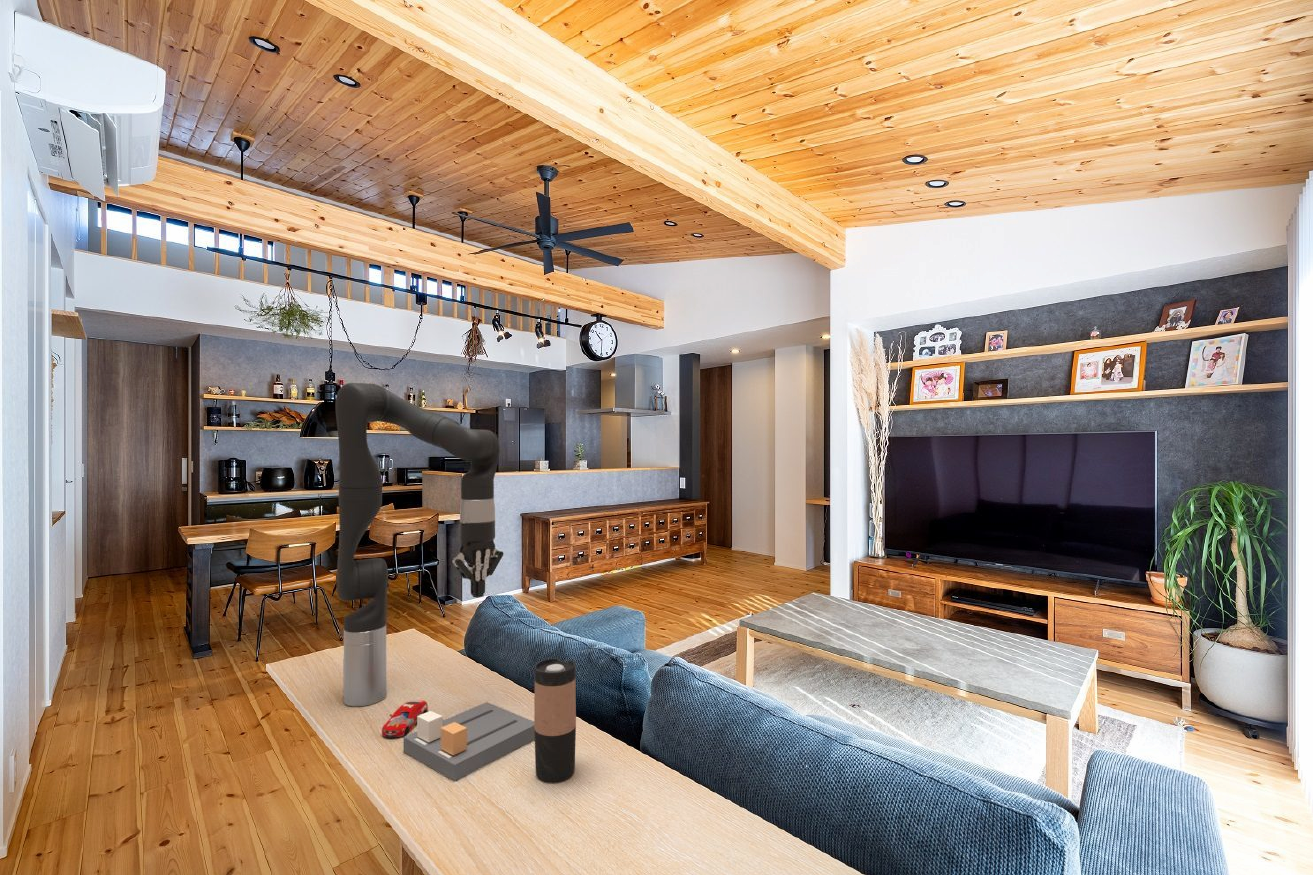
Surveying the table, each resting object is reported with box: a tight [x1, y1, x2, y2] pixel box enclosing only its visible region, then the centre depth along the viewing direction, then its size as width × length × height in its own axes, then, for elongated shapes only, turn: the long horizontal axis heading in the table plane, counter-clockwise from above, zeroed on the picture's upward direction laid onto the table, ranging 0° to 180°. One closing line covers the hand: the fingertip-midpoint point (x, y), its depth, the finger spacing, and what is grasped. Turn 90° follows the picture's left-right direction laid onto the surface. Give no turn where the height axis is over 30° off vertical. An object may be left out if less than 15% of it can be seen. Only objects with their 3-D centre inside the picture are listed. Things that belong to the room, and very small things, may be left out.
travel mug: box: [533, 657, 577, 784], centre depth 112 cm, size 8×8×20 cm
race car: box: [381, 700, 429, 739], centre depth 131 cm, size 13×5×4 cm, turn 173°
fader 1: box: [416, 710, 443, 742], centre depth 119 cm, size 4×3×4 cm
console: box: [402, 701, 535, 782], centre depth 123 cm, size 17×20×3 cm
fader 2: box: [441, 722, 467, 755], centre depth 115 cm, size 4×3×4 cm
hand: (477, 596), depth 135 cm, fingers closed
